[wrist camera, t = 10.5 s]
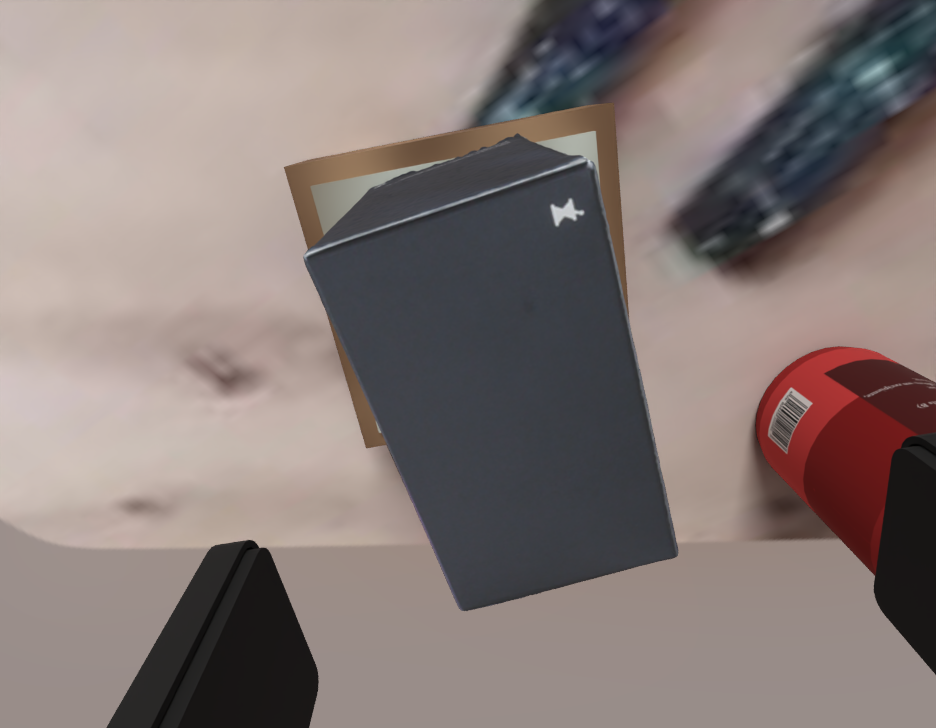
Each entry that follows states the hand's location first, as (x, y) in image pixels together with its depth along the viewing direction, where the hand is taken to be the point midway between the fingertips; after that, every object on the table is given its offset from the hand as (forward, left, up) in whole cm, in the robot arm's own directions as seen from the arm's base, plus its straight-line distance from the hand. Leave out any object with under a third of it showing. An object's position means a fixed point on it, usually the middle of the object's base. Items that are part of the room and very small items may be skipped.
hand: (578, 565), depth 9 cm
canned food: (-16, +11, -20) cm, 28 cm away
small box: (0, 0, -15) cm, 15 cm away
